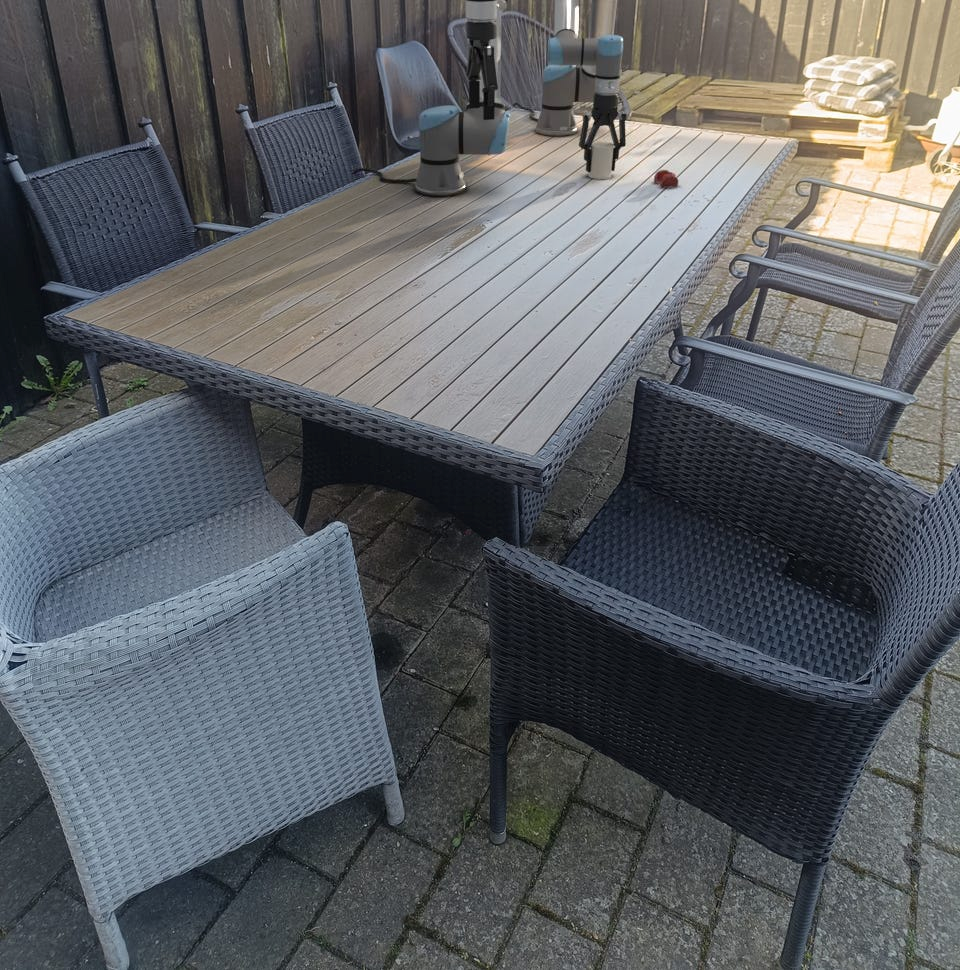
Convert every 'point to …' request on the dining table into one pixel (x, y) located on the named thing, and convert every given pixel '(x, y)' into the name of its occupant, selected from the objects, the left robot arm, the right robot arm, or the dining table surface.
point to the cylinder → (601, 160)
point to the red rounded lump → (666, 178)
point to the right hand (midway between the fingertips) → (600, 170)
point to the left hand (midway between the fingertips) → (481, 113)
